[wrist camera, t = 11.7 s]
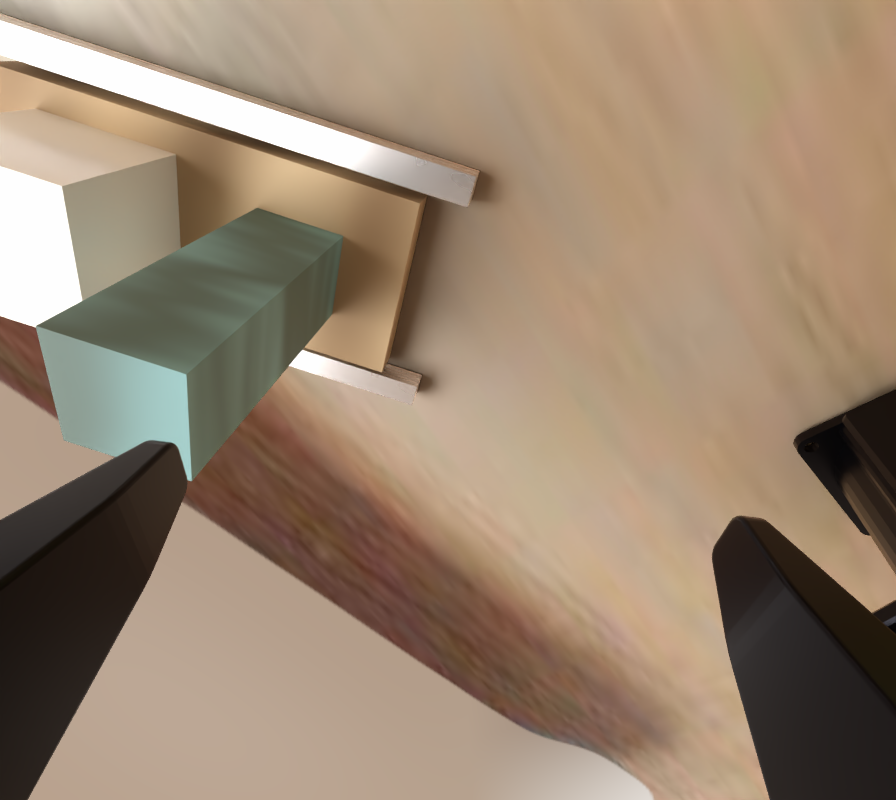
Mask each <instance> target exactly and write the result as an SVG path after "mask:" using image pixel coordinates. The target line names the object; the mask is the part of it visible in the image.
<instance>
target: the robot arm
mask: <svg viewBox="0 0 896 800" xmlns="http://www.w3.org/2000/svg"><path fill="white" fill-rule="evenodd" d="M811 442H814V443H813V444H811V445H809V446H805V445H806V444H808V443H811ZM793 444H794V446H795V448H796V450H797V452H798V453H799V454H800V456H801V457H802V458H803V460H804V461H805V462H806V463H807V465H808V466H809V467H810V468H811V470H812V471H813V472H814V473H815V475H816V476H817V477H818V479H819V480H820V481H821V482H822V484H823V485H824V486H825V487H826V489H827V490H828V491H829V492H830V494H831V495H832V496H833V497H834V499H835V500H836V501H837V503H838V504H839V505H840V506H841V508H842V509H843V510H844V511H845V513H846V514H847V515H848V516H849V518H850V519H851V520H852V521H853V523H854V524H855V525H856V527H857V528H858V529H859V530H860V532H861V533H863V534H865V535H870V536H871V537H872V539H873V540H874V542H875V543H876V545H877V546H878V548H879V549H880V551H881V553H882V554H883V556H884V557H885V559H886V560H887V562H888V563H889V565H890V567H891V568H892V570H893V571H894V573H895V574H896V390H894V391H891V392H889V393H887V394H885V395H883V396H881V397H878V398H876V399H874V400H872V401H870V402H868V403H865V404H863V405H861V406H859V407H857V408H855V409H853V410H850V411H848V412H846V413H844V414H842V415H840V416H837V417H835V418H833V419H831V420H829V421H827V422H824V423H822V424H820V425H818V426H816V427H814V428H812V429H809V430H807V431H805V432H803V433H801V434H799V435H798V436H797V437H796V438H795V439H794V443H793ZM186 489H187V475H186V472H185V469H184V465H183V462H182V458H181V455H180V452H179V449H178V447H177V446H176V445H175V444H174V443H172V442H165V441H157V440H148V441H145V442H143V443H141V444H139V445H137V446H135V447H133V448H132V449H130V450H128V451H126V452H124V453H122V454H121V455H119V456H117V457H115V458H113V459H112V460H110V461H108V462H106V463H104V464H102V465H101V466H99V467H97V468H95V469H93V470H91V471H89V472H87V473H86V474H84V475H82V476H80V477H78V478H76V479H75V480H73V481H71V482H69V483H67V484H65V485H64V486H62V487H60V488H58V489H56V490H54V491H53V492H51V493H49V494H47V495H46V496H43V497H41V498H40V499H38V500H36V501H34V502H32V503H31V504H29V505H27V506H25V507H23V508H21V509H19V510H18V511H16V512H14V513H12V514H10V515H8V516H6V517H5V518H3V519H1V520H0V800H28V798H29V797H30V795H31V793H32V791H33V789H34V787H35V785H36V784H37V782H38V780H39V778H40V776H41V775H42V773H43V771H44V769H45V767H46V766H47V764H48V762H49V760H50V758H51V757H52V755H53V753H54V751H55V749H56V747H57V746H58V744H59V742H60V740H61V738H62V737H63V734H64V733H65V731H66V729H67V727H68V726H69V724H70V722H71V720H72V718H73V716H74V715H75V713H76V711H77V709H78V708H79V705H80V704H81V702H82V700H83V699H84V697H85V695H86V693H87V691H88V689H89V688H90V686H91V684H92V682H93V680H94V679H95V677H96V675H97V673H98V671H99V669H100V668H101V666H102V664H103V662H104V660H105V659H106V657H107V655H108V653H109V651H110V649H111V648H112V646H113V644H114V642H115V640H116V638H117V636H118V635H119V633H120V631H121V630H122V628H123V626H124V624H125V622H126V620H127V619H128V617H129V615H130V613H131V611H132V610H133V608H134V606H135V604H136V602H137V600H138V599H139V597H140V595H141V593H142V591H143V589H144V588H145V585H146V584H147V581H148V580H149V578H150V576H151V574H152V571H153V569H154V567H155V564H156V562H157V560H158V557H159V555H160V553H161V551H162V548H163V546H164V543H165V541H166V539H167V536H168V533H169V531H170V529H171V526H172V524H173V522H174V519H175V517H176V515H177V512H178V510H179V507H180V505H181V503H182V500H183V498H184V495H185V493H186ZM712 562H713V568H714V574H715V580H716V586H717V592H718V597H719V603H720V609H721V615H722V621H723V627H724V632H725V638H726V643H727V648H728V653H729V657H730V660H731V664H732V668H733V672H734V675H735V679H736V682H737V686H738V689H739V693H740V696H741V700H742V703H743V707H744V711H745V714H746V718H747V721H748V725H749V728H750V732H751V735H752V739H753V742H754V746H755V749H756V753H757V756H758V760H759V763H760V767H761V770H762V774H763V777H764V781H765V785H766V788H767V792H768V795H769V799H770V800H896V600H894V601H893V602H891V603H889V604H887V605H885V606H884V607H882V608H880V609H878V610H876V611H875V612H873V613H871V612H870V611H869V610H868V609H867V608H865V607H864V606H863V605H862V604H861V603H860V602H859V601H857V600H856V599H855V598H854V597H853V596H852V595H851V594H849V593H848V592H847V591H846V590H845V589H844V588H843V587H842V586H840V585H839V584H838V583H837V582H836V581H835V580H834V579H832V578H831V577H830V576H829V575H828V574H827V573H826V572H824V571H823V570H822V569H821V568H820V567H819V566H818V565H816V564H815V563H814V562H813V561H812V560H811V559H810V558H808V557H807V556H806V555H805V554H804V553H803V552H802V551H801V550H799V549H798V548H797V547H796V546H795V545H794V544H793V543H791V542H790V541H789V540H788V539H787V538H786V537H785V536H783V535H782V534H781V533H780V532H779V531H778V530H777V529H775V528H774V527H773V526H772V525H771V524H770V523H769V522H767V521H766V520H764V519H761V518H756V517H748V516H736V517H735V518H733V519H732V520H731V521H730V523H729V524H728V526H727V527H726V529H725V530H724V532H723V533H722V535H721V536H720V538H719V540H718V541H717V543H716V544H715V546H714V549H713V553H712Z"/></svg>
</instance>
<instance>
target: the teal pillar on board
mask: <svg viewBox="0 0 896 800" xmlns="http://www.w3.org/2000/svg"><path fill="white" fill-rule="evenodd" d="M27 109H39V110H42V111H45V112H48V113H51V114H54V115H57V116H60V117H63V118H66V119H69V120H72V121H76V122H79V123H82V124H85V125H88V126H91V127H94V128H97V129H100V130H103V131H106V132H109V133H112V134H115V135H118V136H121V137H125V138H128V139H131V140H134V141H137V142H140V143H143V144H146V145H149V146H152V147H155V148H158V149H161V150H164V151H167V152H170V153H173V154H176V165H177V185H178V205H179V225H180V245H181V249H179V250H177V251H175V252H173V253H171V254H169V255H167V256H166V257H164V258H162V259H160V260H158V261H156V262H154V263H152V264H151V265H149V266H147V267H145V268H143V269H141V270H139V271H137V272H136V273H134V274H132V275H130V276H128V277H126V278H124V279H122V280H121V281H119V282H117V283H115V284H113V285H111V286H109V287H107V288H106V289H104V290H102V291H100V292H98V293H96V294H94V295H92V296H91V297H89V298H87V299H85V300H83V301H81V302H79V303H77V304H76V305H74V306H72V307H70V308H68V309H66V310H64V311H62V312H61V313H59V314H57V315H55V316H53V317H51V318H49V319H47V320H46V321H44V322H42V323H40V324H38V325H36V329H37V334H38V338H39V342H40V346H41V350H42V354H43V358H44V362H45V366H46V370H47V374H48V378H49V382H50V386H51V390H52V394H53V398H54V402H55V406H56V411H57V415H58V419H59V423H60V427H61V431H62V435H63V439H64V440H65V441H68V442H71V443H74V444H77V445H80V446H84V447H87V448H90V449H93V450H96V451H99V452H102V453H105V454H108V455H111V456H115V457H117V456H119V455H121V454H122V453H124V452H126V451H128V450H130V449H132V448H133V447H135V446H137V445H139V444H141V443H143V442H145V441H148V440H157V441H165V442H172V443H174V444H175V445H176V446H177V447H178V449H179V452H180V455H181V458H182V462H183V465H184V469H185V472H186V475H187V480H190V481H192V480H193V479H194V478H195V477H196V476H197V474H198V473H199V472H200V471H201V470H202V468H203V467H204V466H205V465H206V464H207V463H208V461H209V460H210V459H211V458H212V457H213V455H214V454H215V453H216V452H217V451H218V449H219V448H220V447H221V446H222V445H223V444H224V442H225V441H226V440H227V439H228V438H229V436H230V435H231V434H232V433H233V432H234V430H235V429H236V428H237V427H238V426H239V425H240V423H241V422H242V421H243V420H244V419H245V417H246V416H247V415H248V414H249V413H250V411H251V410H252V409H253V408H254V407H255V406H256V404H257V403H258V402H259V401H260V400H261V398H262V397H263V396H264V395H265V394H266V392H267V391H268V390H269V389H270V388H271V386H272V385H273V384H274V383H275V382H276V381H277V379H278V378H279V377H280V376H281V375H282V373H283V372H284V371H285V370H286V369H287V367H288V366H289V365H290V364H291V363H292V362H293V360H294V359H295V358H296V357H297V356H298V354H299V353H300V352H301V351H302V350H303V348H304V347H305V348H308V349H311V350H314V351H317V352H320V353H323V354H326V355H329V356H333V357H336V358H339V359H342V360H345V361H348V362H351V363H354V364H357V365H360V366H363V367H367V368H370V369H373V370H376V371H379V372H382V371H383V370H384V368H385V366H386V364H387V362H388V360H389V358H390V354H391V350H392V346H393V341H394V337H395V333H396V329H397V324H398V320H399V316H400V311H401V307H402V303H403V298H404V294H405V290H406V285H407V281H408V277H409V272H410V268H411V264H412V259H413V255H414V251H415V247H416V242H417V238H418V234H419V229H420V225H421V221H422V216H423V212H424V208H425V203H426V199H427V195H425V194H422V193H419V192H416V191H413V190H410V189H407V188H404V187H401V186H398V185H395V184H392V183H389V182H385V181H382V180H379V179H376V178H373V177H370V176H367V175H364V174H361V173H358V172H355V171H352V170H349V169H346V168H343V167H340V166H337V165H334V164H331V163H327V162H324V161H321V160H318V159H315V158H312V157H309V156H306V155H303V154H300V153H297V152H294V151H291V150H288V149H285V148H282V147H279V146H276V145H273V144H269V143H266V142H263V141H260V140H257V139H254V138H251V137H248V136H245V135H242V134H239V133H236V132H233V131H230V130H227V129H224V128H221V127H218V126H215V125H212V124H208V123H205V122H202V121H199V120H196V119H193V118H190V117H187V116H184V115H181V114H178V113H175V112H172V111H169V110H166V109H163V108H160V107H157V106H154V105H150V104H147V103H144V102H141V101H138V100H135V99H132V98H129V97H126V96H123V95H120V94H117V93H114V92H111V91H108V90H105V89H102V88H99V87H96V86H92V85H89V84H86V83H83V82H80V81H77V80H74V79H71V78H68V77H65V76H62V75H59V74H56V73H53V72H50V71H47V70H44V69H41V68H38V67H34V66H31V65H28V64H25V63H22V62H19V61H3V62H0V113H1V112H10V111H19V110H27Z"/></svg>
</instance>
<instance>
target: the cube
mask: <svg viewBox="0 0 896 800" xmlns="http://www.w3.org/2000/svg"><path fill="white" fill-rule="evenodd" d="M179 249H181V245H180V225H179V205H178V185H177V165H176V154H173V153H170V152H167V151H164V150H161V149H158V148H155V147H152V146H149V145H146V144H143V143H140V142H137V141H134V140H131V139H128V138H125V137H121V136H118V135H115V134H112V133H109V132H106V131H103V130H100V129H97V128H94V127H91V126H88V125H85V124H82V123H79V122H76V121H72V120H69V119H66V118H63V117H60V116H57V115H54V114H51V113H48V112H45V111H42V110H39V109H27V110H19V111H10V112H1V113H0V316H2V317H6V318H9V319H12V320H15V321H18V322H21V323H24V324H27V325H30V326H33V327H36V325H38V324H40V323H42V322H44V321H46V320H47V319H49V318H51V317H53V316H55V315H57V314H59V313H61V312H62V311H64V310H66V309H68V308H70V307H72V306H74V305H76V304H77V303H79V302H81V301H83V300H85V299H87V298H89V297H91V296H92V295H94V294H96V293H98V292H100V291H102V290H104V289H106V288H107V287H109V286H111V285H113V284H115V283H117V282H119V281H121V280H122V279H124V278H126V277H128V276H130V275H132V274H134V273H136V272H137V271H139V270H141V269H143V268H145V267H147V266H149V265H151V264H152V263H154V262H156V261H158V260H160V259H162V258H164V257H166V256H167V255H169V254H171V253H173V252H175V251H177V250H179Z"/></svg>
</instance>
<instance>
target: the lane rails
mask: <svg viewBox="0 0 896 800" xmlns="http://www.w3.org/2000/svg"><path fill="white" fill-rule="evenodd" d="M0 55H3V56H6V57H9V58H12V59H15V60H18V61H21V62H25V63H28V64H31V65H34V66H37V67H40V68H43V69H46V70H49V71H52V72H55V73H58V74H61V75H64V76H67V77H70V78H73V79H76V80H79V81H83V82H86V83H89V84H92V85H95V86H98V87H101V88H104V89H107V90H110V91H113V92H116V93H119V94H122V95H125V96H128V97H131V98H134V99H137V100H141V101H144V102H147V103H150V104H153V105H156V106H159V107H162V108H165V109H168V110H171V111H174V112H177V113H180V114H183V115H186V116H189V117H192V118H195V119H198V120H202V121H205V122H208V123H211V124H214V125H217V126H220V127H223V128H226V129H229V130H232V131H235V132H238V133H241V134H244V135H247V136H250V137H253V138H256V139H260V140H263V141H266V142H269V143H272V144H275V145H278V146H281V147H284V148H287V149H290V150H293V151H296V152H299V153H302V154H305V155H308V156H311V157H314V158H318V159H321V160H324V161H327V162H330V163H333V164H336V165H339V166H342V167H345V168H348V169H351V170H354V171H357V172H360V173H363V174H366V175H369V176H372V177H376V178H379V179H382V180H385V181H388V182H391V183H394V184H397V185H400V186H403V187H406V188H409V189H412V190H415V191H418V192H421V193H424V194H427V195H430V196H434V197H437V198H440V199H443V200H446V201H449V202H452V203H455V204H458V205H461V206H464V207H468V206H469V204H470V202H471V200H472V197H473V193H474V190H475V186H476V183H477V179H478V175H479V172H480V171H479V170H476V169H473V168H470V167H467V166H464V165H461V164H458V163H455V162H452V161H448V160H445V159H442V158H439V157H436V156H433V155H430V154H427V153H424V152H421V151H418V150H415V149H412V148H409V147H406V146H403V145H400V144H397V143H394V142H391V141H388V140H385V139H381V138H378V137H375V136H372V135H369V134H366V133H363V132H360V131H357V130H354V129H351V128H348V127H345V126H342V125H339V124H336V123H333V122H330V121H327V120H324V119H321V118H318V117H315V116H311V115H308V114H305V113H302V112H299V111H296V110H293V109H290V108H287V107H284V106H281V105H278V104H275V103H272V102H269V101H266V100H263V99H260V98H257V97H254V96H251V95H248V94H245V93H241V92H238V91H235V90H232V89H229V88H226V87H223V86H220V85H217V84H214V83H211V82H208V81H205V80H202V79H199V78H196V77H193V76H190V75H187V74H184V73H181V72H178V71H174V70H171V69H168V68H165V67H162V66H159V65H156V64H153V63H150V62H147V61H144V60H141V59H138V58H135V57H132V56H129V55H126V54H123V53H120V52H117V51H114V50H111V49H108V48H104V47H101V46H98V45H95V44H92V43H89V42H86V41H83V40H80V39H77V38H74V37H71V36H68V35H65V34H62V33H59V32H56V31H53V30H50V29H47V28H44V27H41V26H38V25H34V24H31V23H28V22H25V21H22V20H19V19H16V18H13V17H10V16H7V15H4V14H1V13H0ZM289 366H292V367H295V368H298V369H301V370H304V371H307V372H310V373H313V374H316V375H319V376H322V377H326V378H329V379H332V380H335V381H338V382H341V383H344V384H347V385H350V386H353V387H357V388H360V389H363V390H366V391H369V392H372V393H375V394H378V395H381V396H384V397H387V398H391V399H394V400H397V401H400V402H403V403H406V404H409V405H412V404H413V401H414V399H415V396H416V394H417V391H418V387H419V384H420V380H421V377H422V375H421V374H418V373H415V372H412V371H409V370H406V369H403V368H400V367H396V366H393V365H390V364H386V366H385V368H384V370H383V371H382V372H379V371H376V370H373V369H370V368H367V367H363V366H360V365H357V364H354V363H351V362H348V361H345V360H342V359H339V358H336V357H333V356H329V355H326V354H323V353H320V352H317V351H314V350H311V349H308V348H305V347H304V348H303V350H302V351H301V352H300V353H299V354H298V356H297V357H296V358H295V359H294V360H293V362H292V363H291V364H290V365H289Z"/></svg>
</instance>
